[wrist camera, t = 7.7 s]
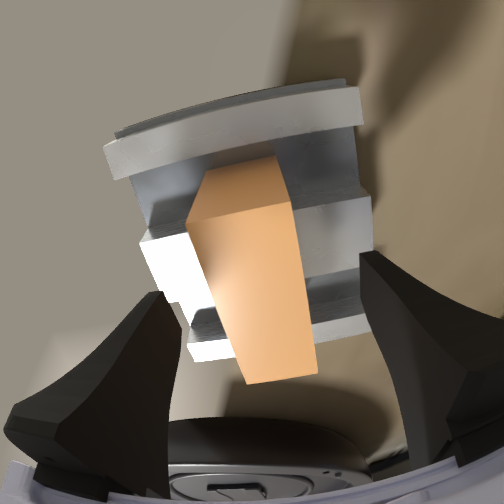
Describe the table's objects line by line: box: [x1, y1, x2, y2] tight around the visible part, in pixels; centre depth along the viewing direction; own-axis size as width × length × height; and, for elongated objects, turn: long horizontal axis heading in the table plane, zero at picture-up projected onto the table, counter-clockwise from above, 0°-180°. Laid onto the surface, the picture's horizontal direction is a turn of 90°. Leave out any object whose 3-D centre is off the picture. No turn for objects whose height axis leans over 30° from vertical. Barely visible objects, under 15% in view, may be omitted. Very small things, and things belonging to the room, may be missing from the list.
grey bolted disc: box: [168, 417, 373, 502], centre depth 30 cm, size 30×6×30 cm
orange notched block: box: [185, 155, 318, 385], centre depth 13 cm, size 3×8×5 cm, turn 13°
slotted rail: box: [103, 78, 373, 362], centre depth 15 cm, size 10×13×2 cm
